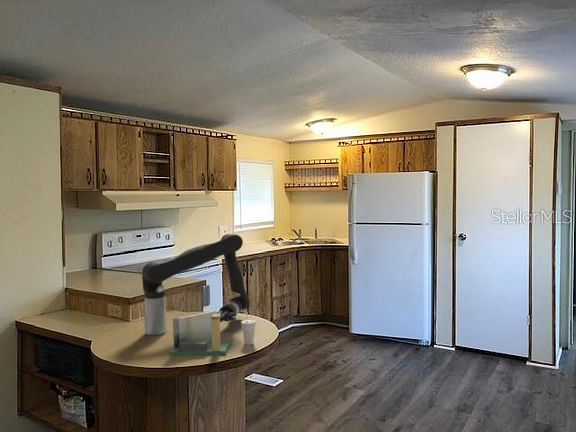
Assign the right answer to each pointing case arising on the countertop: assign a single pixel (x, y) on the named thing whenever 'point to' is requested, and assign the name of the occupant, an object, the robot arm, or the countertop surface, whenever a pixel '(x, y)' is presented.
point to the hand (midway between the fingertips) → (216, 321)
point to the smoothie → (248, 330)
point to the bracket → (205, 343)
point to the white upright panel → (193, 328)
